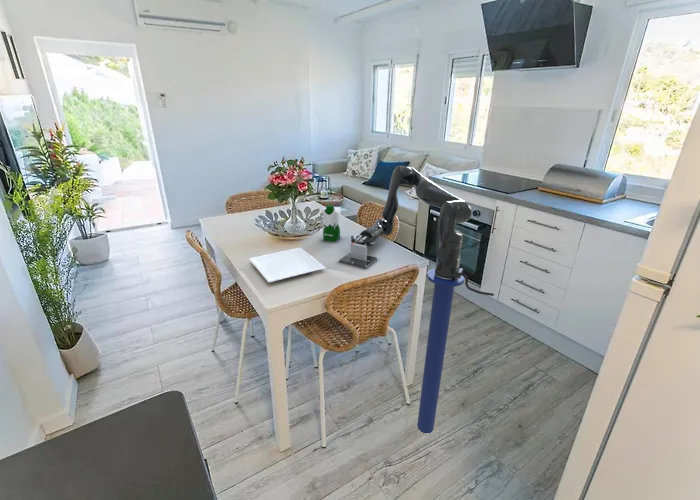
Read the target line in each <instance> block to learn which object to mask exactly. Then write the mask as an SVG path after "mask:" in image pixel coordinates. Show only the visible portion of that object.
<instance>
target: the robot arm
mask: <svg viewBox="0 0 700 500" xmlns="http://www.w3.org/2000/svg"><path fill="white" fill-rule="evenodd" d="M391 174H392V175H391V177H390V182H389V183H390V184H389V188H388V193H387V198H386V201H385V204H384V206H383V209H382V212H381V217H382V218H377V219H376V220H375V222H374V223H373V225H371V226H370V227H368V228H366V229H364V230H363V231H361V232H360V234H359V235H357V236H354V235H350V241H351V243H352V242H353V243H355V244H360V245H365V246H367V247H370V246H371V247H373V246H374V242H376V241H377V240H378V239H379V238H381V237H382V236H383V235H384V236H386V237H387V236H390V235H391V234H393V233H392V232H393V230H394V222H395V216H396V214H397V212H398V209H399V204H400V203H399V198H398V190H399V187H400V186H407V187H411V188H414V189H415V194H416V196H417V198H418V199H420V200H421V201H422V202H424V203H425V204H426V205H429V206H432V207H435V208H439V209H440V210H439V221H438V233H439V237H438V245H437V252H436V253H437V254H436V262H435V268H436V269H435V268H434V269H435V276H436V277H437V278H439V279H442V280H453V281H455V279H456V278H460V277H461V276H463V277H464V278H465V279H464V282H465V283H464V284H465V287H466V288H467V290H469V291H471V292H474V293H476V294H479V295H484V296H491V297H494V296H495V293H493V292H486V291H482V290H478V289H475V288H472V287H470V286H469V277H468V276H467V275H466V274H465V273H463V272H464V269H463V268H460V264H461V258H462V256H461V251H462V243H463V238H464V234H463V232H461V231H460V230H458V229H456V227H455V226H456V225H457V224H463V223H466V222H467V221H469V220H470V219H471V218H472V213H473V212H472V211H473V210H472V208H471V206H470V204H469V203H468V202H467V201H465V200H463V199H462V198H459V197H457V196H455V195H453V194H452V193H449V192H448V191H446V190H445V189H443V188H442V187H441V186H439V185H437V184H436V183H435V182H434V181H432V180H430V179H428V178H427V177H425V176H423V175H422V174H421V173H420V172H419V171H418V170H417V169H416V168H414V167H412V166H405V165H404V166H403V165H397V166H396V167H395V168H394V169H393V171H392V173H391Z"/></svg>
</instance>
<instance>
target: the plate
mask: <svg viewBox="0 0 700 500" xmlns="http://www.w3.org/2000/svg"><path fill="white" fill-rule="evenodd" d="M248 260H249V261H250V262H251V263H252V264H253V266H254V267H255V268H256V269H257V271H258V272H259V273H260V274H261V275H262V276H263V278H264V279H265V281H267V283H273V282H278V281H281V280H285V279H290V278H293V277H297V276H301V275H304V274H308V273H312V272H317V271H320V270H324V269H326V267H325V266H324V265H323V264H322V263H321V262H319V261H318V260H317V259H315V258H314V257H313V256H312V255H311V254H309V252H307V251H305V249H303V248H302V247H296V248H295V247H294V248H291V249H286V250H282V251H277V252H271V253H267V254H263V255H258V256H254V257H253V256H252V257H249V258H248Z"/></svg>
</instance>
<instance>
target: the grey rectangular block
mask: <svg viewBox="0 0 700 500" xmlns="http://www.w3.org/2000/svg"><path fill="white" fill-rule="evenodd" d="M349 247H350V249H349V251H350V252H349V253H350V257H351V258H355V259H359V260H363V261H366V260H367V255H368V246H365V245H360V244H355V243H353V242H351V243H350V245H349Z"/></svg>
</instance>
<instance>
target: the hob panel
mask: <svg viewBox="0 0 700 500" xmlns="http://www.w3.org/2000/svg"><path fill="white" fill-rule="evenodd" d="M377 261H378V257H376V256H372V255H369V254H367V260H366V261H363V260H359V259H355V258H351V257H350V252H349V253H347V254H346V255H344V256H343V257H341V258H340V259H338V262H339V263H341V264H345V265H348V266H352V267H356V268H362V269H366V270H367V268H370V266H372V265H373V264H375V262H377Z"/></svg>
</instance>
